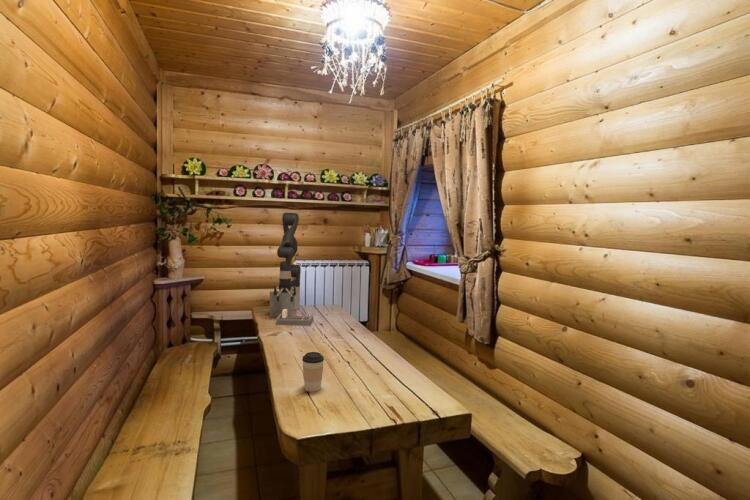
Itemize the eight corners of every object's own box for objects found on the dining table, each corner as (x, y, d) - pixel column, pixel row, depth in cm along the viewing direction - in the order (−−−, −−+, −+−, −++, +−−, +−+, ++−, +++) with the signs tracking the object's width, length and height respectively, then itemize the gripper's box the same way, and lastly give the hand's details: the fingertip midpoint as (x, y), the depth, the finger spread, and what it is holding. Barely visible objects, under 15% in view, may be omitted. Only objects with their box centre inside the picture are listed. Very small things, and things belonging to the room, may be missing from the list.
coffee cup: (313, 381, 181) (314, 348, 180) (327, 387, 176) (328, 353, 174) (297, 388, 174) (297, 353, 173) (311, 394, 169) (312, 359, 167)
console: (280, 319, 281) (280, 313, 280) (313, 320, 281) (313, 314, 280) (276, 324, 269) (276, 317, 268) (310, 325, 269) (310, 319, 268)
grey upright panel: (269, 317, 286) (270, 288, 284) (269, 316, 290) (269, 287, 288) (293, 316, 291) (293, 288, 290) (292, 314, 295) (292, 287, 293)
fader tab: (283, 316, 277) (283, 308, 276) (287, 316, 277) (287, 309, 276) (282, 318, 272) (282, 310, 271) (285, 318, 272) (285, 310, 271)
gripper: (297, 276, 276) (296, 301, 277) (275, 276, 276) (275, 300, 277) (294, 278, 268) (294, 303, 270) (272, 277, 268) (272, 302, 270)
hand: (284, 301), depth 273 cm, fingers open, 8 cm apart
